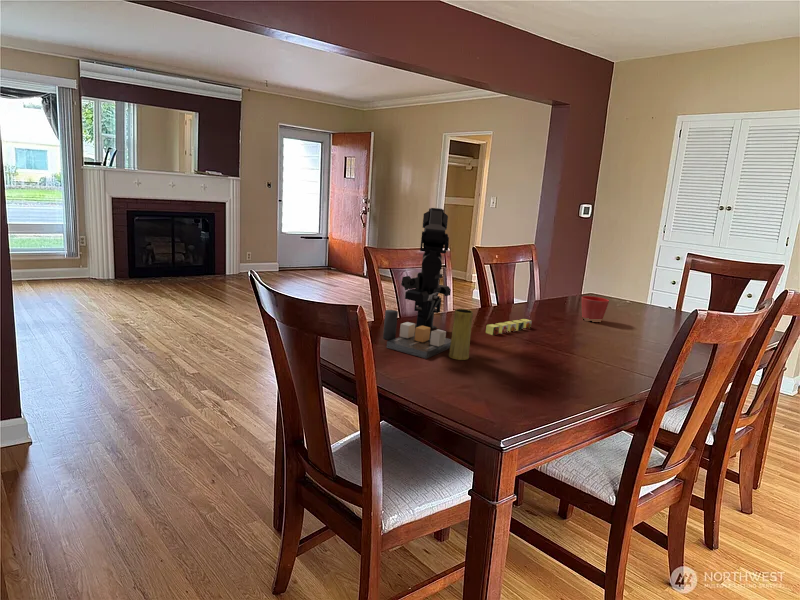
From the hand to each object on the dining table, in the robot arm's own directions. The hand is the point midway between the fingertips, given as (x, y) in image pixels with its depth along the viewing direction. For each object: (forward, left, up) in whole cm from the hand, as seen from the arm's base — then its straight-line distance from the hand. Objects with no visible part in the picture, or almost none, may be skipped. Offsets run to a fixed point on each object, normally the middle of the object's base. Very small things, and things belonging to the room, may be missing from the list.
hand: (425, 320), depth 163 cm
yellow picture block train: (-43, +14, -9) cm, 46 cm away
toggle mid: (+1, 0, -7) cm, 7 cm away
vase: (+1, +13, -9) cm, 16 cm away
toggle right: (+1, +5, -7) cm, 9 cm away
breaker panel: (+1, 0, -9) cm, 9 cm away
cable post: (+1, -12, -9) cm, 15 cm away
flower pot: (-89, +31, -9) cm, 95 cm away
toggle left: (+1, -6, -7) cm, 9 cm away
